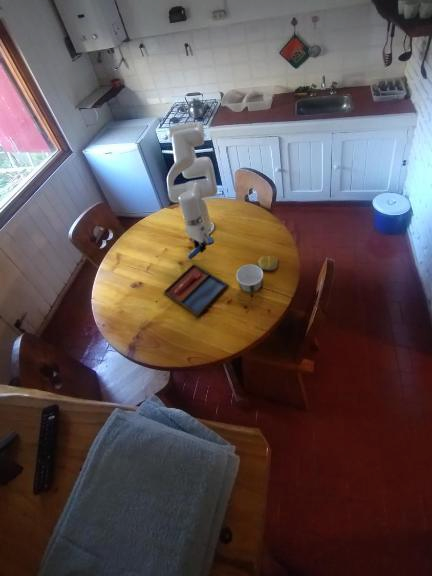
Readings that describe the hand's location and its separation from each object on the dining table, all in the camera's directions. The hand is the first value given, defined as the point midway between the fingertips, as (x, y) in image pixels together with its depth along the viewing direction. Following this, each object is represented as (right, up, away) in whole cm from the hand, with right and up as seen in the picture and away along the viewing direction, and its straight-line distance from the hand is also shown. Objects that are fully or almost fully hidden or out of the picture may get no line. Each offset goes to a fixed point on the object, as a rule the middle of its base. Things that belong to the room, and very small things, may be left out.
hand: (200, 249), depth 158 cm
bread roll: (+32, -8, +7) cm, 34 cm away
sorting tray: (-2, -19, +2) cm, 19 cm away
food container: (+23, -16, 0) cm, 28 cm away
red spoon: (-6, -17, +5) cm, 19 cm away
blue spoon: (0, 0, 0) cm, 0 cm away
